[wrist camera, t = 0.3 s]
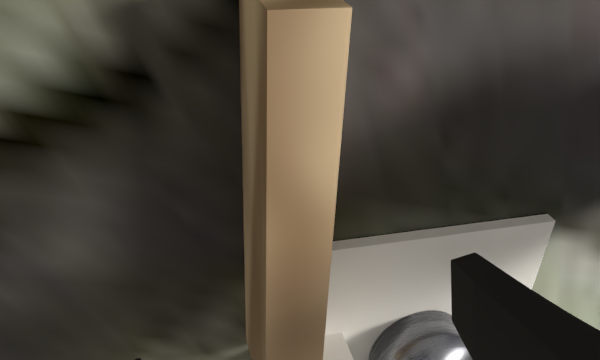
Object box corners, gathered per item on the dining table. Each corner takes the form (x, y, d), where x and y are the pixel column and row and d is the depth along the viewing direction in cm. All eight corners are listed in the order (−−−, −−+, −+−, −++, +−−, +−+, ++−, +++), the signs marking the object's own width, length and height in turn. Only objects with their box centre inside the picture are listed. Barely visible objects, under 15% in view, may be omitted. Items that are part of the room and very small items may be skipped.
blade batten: (304, -29, 18) (352, 7, 14) (291, 326, 26) (318, 408, 22) (237, -28, 17) (267, 10, 14) (245, 334, 26) (265, 419, 22)
